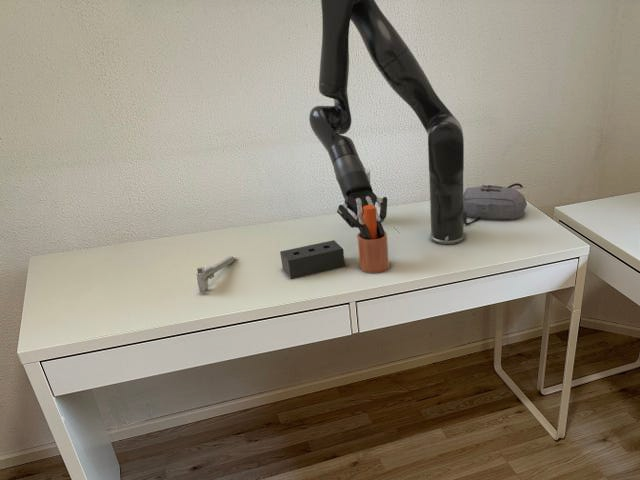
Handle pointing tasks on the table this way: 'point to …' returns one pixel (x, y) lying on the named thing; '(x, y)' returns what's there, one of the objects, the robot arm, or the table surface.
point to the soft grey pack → (493, 202)
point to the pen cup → (373, 254)
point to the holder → (312, 259)
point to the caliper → (210, 273)
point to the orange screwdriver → (370, 220)
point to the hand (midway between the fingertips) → (374, 238)
